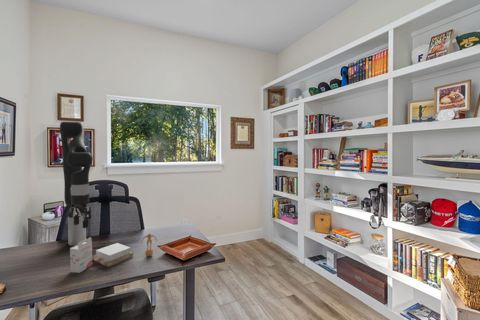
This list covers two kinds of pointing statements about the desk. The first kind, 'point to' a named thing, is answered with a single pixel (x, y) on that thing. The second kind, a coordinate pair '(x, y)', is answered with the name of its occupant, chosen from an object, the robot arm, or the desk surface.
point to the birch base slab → (112, 262)
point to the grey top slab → (113, 251)
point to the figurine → (150, 251)
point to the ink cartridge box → (81, 256)
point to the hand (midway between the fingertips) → (80, 226)
